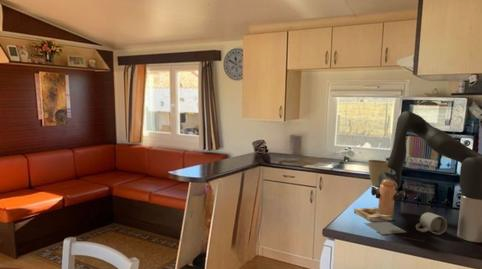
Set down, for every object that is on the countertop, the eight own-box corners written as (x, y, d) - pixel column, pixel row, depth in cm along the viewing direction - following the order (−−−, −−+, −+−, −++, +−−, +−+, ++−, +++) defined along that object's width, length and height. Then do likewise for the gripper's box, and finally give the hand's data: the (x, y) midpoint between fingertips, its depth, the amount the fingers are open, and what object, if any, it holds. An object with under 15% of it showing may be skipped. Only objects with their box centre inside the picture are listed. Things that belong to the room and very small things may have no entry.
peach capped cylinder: (378, 209, 147) (381, 178, 146) (393, 212, 145) (396, 180, 143) (377, 214, 141) (379, 182, 139) (392, 217, 139) (395, 184, 137)
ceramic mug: (433, 227, 148) (434, 210, 147) (446, 234, 140) (448, 216, 139) (410, 228, 147) (412, 210, 146) (423, 235, 138) (424, 217, 138)
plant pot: (384, 189, 211) (386, 164, 209) (362, 185, 222) (364, 161, 220) (394, 186, 221) (396, 162, 219) (372, 181, 232) (374, 159, 230)
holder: (375, 212, 166) (375, 207, 165) (392, 220, 154) (392, 215, 154) (353, 213, 163) (354, 208, 162) (369, 222, 151) (369, 217, 151)
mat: (387, 223, 151) (387, 221, 151) (406, 233, 140) (406, 231, 140) (364, 224, 148) (364, 223, 148) (381, 235, 137) (382, 233, 137)
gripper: (372, 178, 158) (369, 186, 143) (406, 182, 152) (406, 191, 137) (371, 193, 159) (367, 203, 144) (404, 198, 153) (405, 209, 138)
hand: (386, 197), depth 140 cm, fingers closed on peach capped cylinder, 6 cm apart
